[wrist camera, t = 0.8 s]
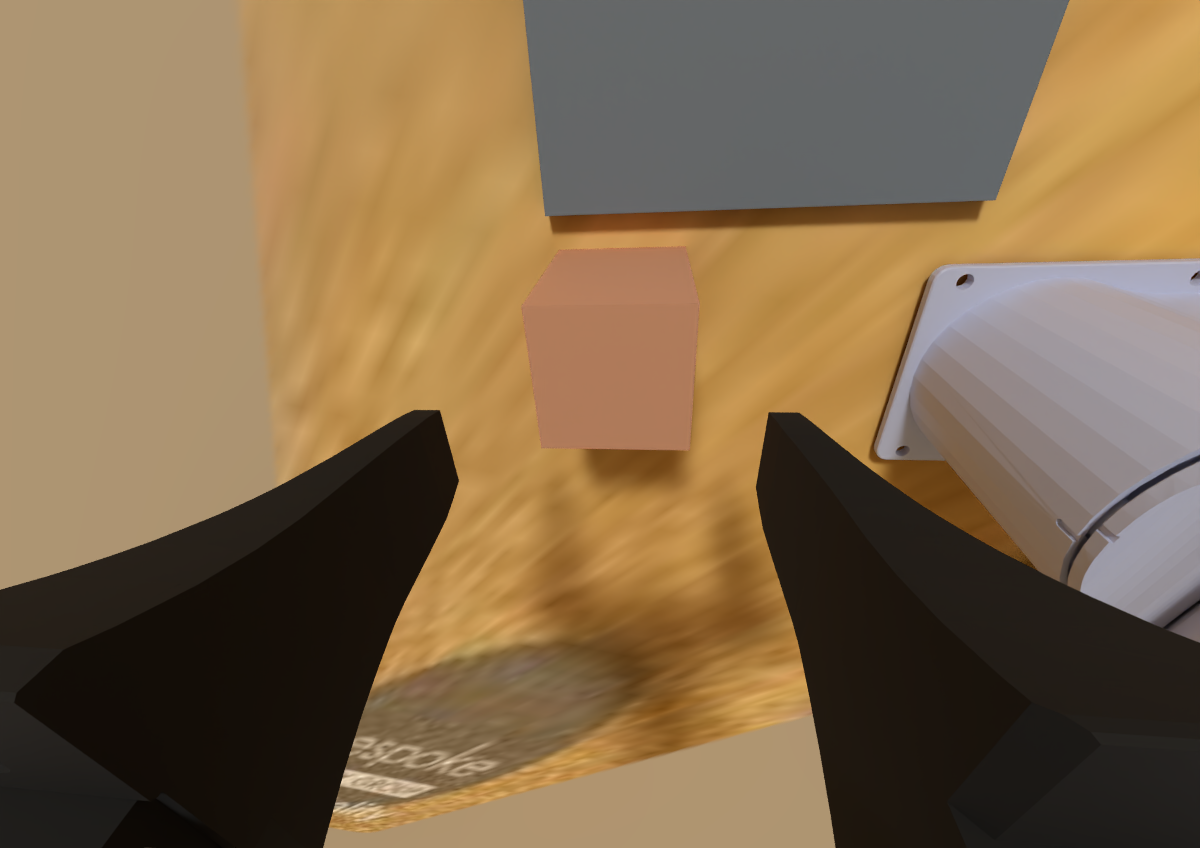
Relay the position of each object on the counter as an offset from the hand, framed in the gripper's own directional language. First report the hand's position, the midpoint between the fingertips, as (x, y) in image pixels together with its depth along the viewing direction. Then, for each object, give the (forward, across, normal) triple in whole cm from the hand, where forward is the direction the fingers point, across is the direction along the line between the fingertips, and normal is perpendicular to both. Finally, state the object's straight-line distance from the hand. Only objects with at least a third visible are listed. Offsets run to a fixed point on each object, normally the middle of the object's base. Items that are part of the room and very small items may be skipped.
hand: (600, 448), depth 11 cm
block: (+9, 0, 0) cm, 9 cm away
